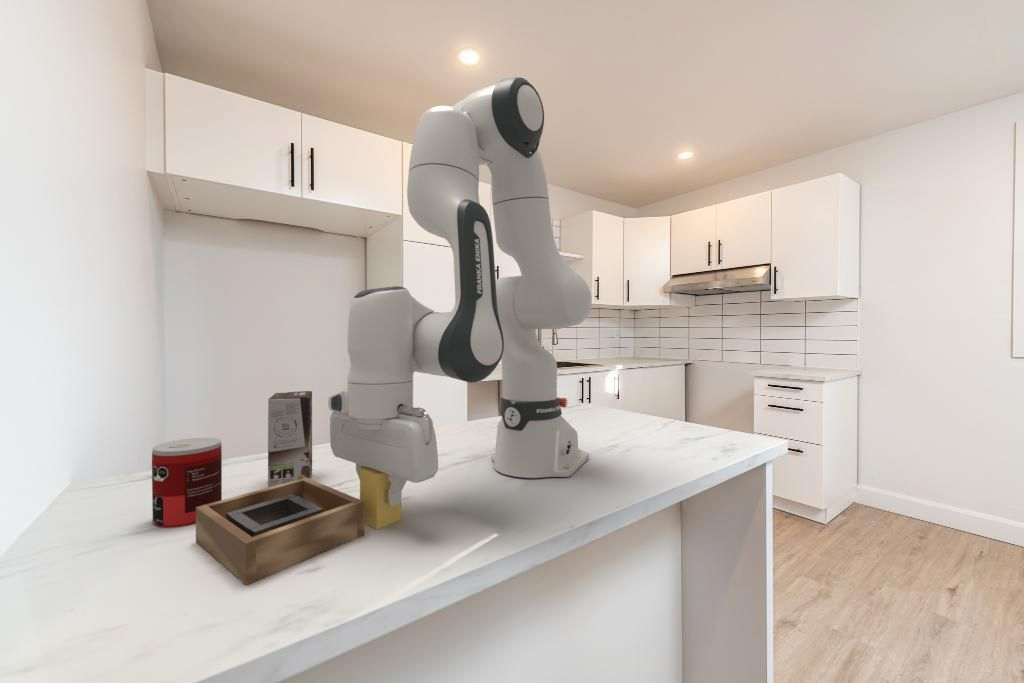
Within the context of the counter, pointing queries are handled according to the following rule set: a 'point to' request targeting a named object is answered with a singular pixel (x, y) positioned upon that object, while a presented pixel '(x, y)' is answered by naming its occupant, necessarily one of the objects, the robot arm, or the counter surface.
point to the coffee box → (289, 437)
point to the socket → (272, 514)
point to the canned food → (185, 479)
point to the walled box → (278, 530)
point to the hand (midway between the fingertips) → (380, 498)
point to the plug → (377, 499)
